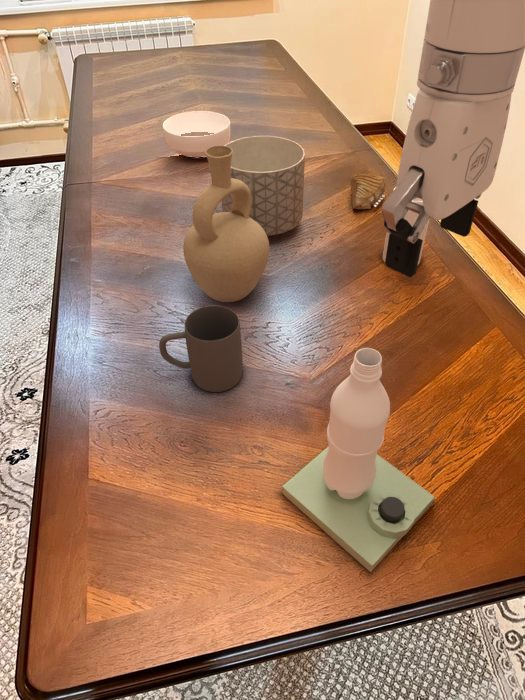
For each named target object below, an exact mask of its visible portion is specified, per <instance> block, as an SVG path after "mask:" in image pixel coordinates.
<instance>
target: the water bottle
mask: <svg viewBox="0 0 525 700" xmlns="http://www.w3.org/2000/svg"><path fill="white" fill-rule="evenodd" d="M382 362H383V356H382V354H381V352H380V351H378V350H377V349H374V348H373V347H372V348H371V347H362V348H359V349H358V350H356V352H355V353H354V356H353V362H352V363H351V365H350V368H349V372H350V374H349V375H348V377H346V378H345V379H344V380H342V381H341V383H339V385H337V387H336V388H335V389H334V390H333V393H332V395H331V398H330V400H329V401H330V402H329V409H330V411H329V419H328V424H327V427H326V439H327V444H328V446H329V449H328V452H327V454H326V456H325V458H324V462H323V476H324V480H325V483H326V485H327V487H328V488H329V489H330V490H331V491H334V490H336V491H337V492H338V494H339V496H340V497H342V498H344V499H355V498H357V497H359V496H360V495H362V494H363V492H366V491H368V490H369V489H370V488H371V486H372V484H373V482H374V479H375V475H376V463H375V458H376V454H378V452H379V450H380V448H381V446H382V445H383V444H384V441H385V431H386V427H387V423H388V419H389V417H390V414H391V402H390V397H389V395H388V392H387V390H386V389H385V387H384V385H383V384H382V381H381V377H382V375H383V370H382Z"/></svg>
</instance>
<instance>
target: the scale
mask: <svg viewBox="0 0 525 700" xmlns="http://www.w3.org/2000/svg"><path fill="white" fill-rule="evenodd" d="M328 449H329V445H328V446H327V447H326V448H325V449H323V450H322V451H321V452H320V453H319V454H318V455H316V456H315V457H314V458H313V459H311V461H310V462H309V463H307V464H305V466H304V467H302V468H301V469H300V470H299V471H298V472H297V473H296V474H294V475H293V476H292V477H291V478H290V479H289V480H288V481H287V482H285V483H284V484H283V485H281V494H282V495H283V496H284V497H285V498H286V499H287V500H288V501H290V503H292V504H293V505H294V506H295V507H296V508H297V509H298V510H300V511H301V513H303V514H304V515H306V516H307V517H308V518H309V519H310V520H311V521H312V522H313V523H314V524H315V525H317V526H318V527H319V528H320V529H321V530H322V531H323V532H324V533H325V534H326V535H328V536H329V537H330V538H331V539H332V540H333V541H334V542H336V543H337V544H338V545H339V546H340V547H341V548H342V549H344V551H346V552H347V553H348V554H349V555H351V557H353V559H355V560H356V561H357V562H358V563H359V564H361V566H363V567H364V568H365V569H366V570H367V571H368V572H370V573H372V571H373V570H374V569H375V568H376V567H377V566H378V565H379V564H380V562H381V561H383V559H384V558H385V557H386V556H387V555H388V554H389V553H390V551H392V550H393V548H394V547H396V545H397V544H398V543H399V542H400V540H401V539H402V538H403V537H404V536H406V535H407V534H408V533H409V531H411V529H412V528H413V526H415V524H416V523H417V522H418V521H419V519H420V518H421V517H422V516H423V515H424V514H425V513H426V512H427V510H428V509H429V508H430V507H431V506H432V505H433V503H434V500H435V498H436V496H435V495H433V494H432V493H430V491H427V490H426V489H425V488H424V487H422V486H421V485H420V484H418V483H417V482H416V481H414V480H413V479H412V478H410V477H409V476H407V475H406V474H405V473H404V472H403V471H401V470H399V469H398V468H396V467H395V466H394V465H393V464H391V463H390V462H389V461H387V460H386V459H384V458H383V457H382V456H380V455H379V454H378V453H377V454H376V458H375V463H376V475H375V479H374V482H373V484H372V486H371V488H370V489H369V490H368V491H366V492H363V494H362V495H360V496H359V497H357V498H355V499H344V498H342V497H340V496H339V494H338V492H337V491H336V490H334V491H331V490H330V489H329V488H328V487H327V485H326V483H325V480H324V476H323V462H324V458H325V456H326V454H327V452H328ZM387 497H396V498H398V499H399V500H401V501H402V503H403V504H404V508H405V510H404V513H403V516H402V519H401V520H400V521H398V522H395V523H391V522H388V521H386V520H384V519H383V518H382V516H381V514H380V507H381V503H382V501H383V500H384V499H385V498H387Z"/></svg>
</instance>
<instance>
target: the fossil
mask: <svg viewBox="0 0 525 700" xmlns="http://www.w3.org/2000/svg"><path fill="white" fill-rule="evenodd" d="M349 183H350V184H349V186H350V192H351V193H350V195H351V205H352V209H354V210H370V209H371V208H372V206H373V207H374V208H377V206H378V205H379V204H380V203H381V202H382V200H383V199H384V198H385V197H386V193H385V191H386V189H385V187H386V185H387V181H386V179H385V177H384V176H380V175H376V174H372V173H356V174H354V175H353V176H352V177H351V178H350V182H349Z"/></svg>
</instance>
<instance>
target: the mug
mask: <svg viewBox="0 0 525 700" xmlns="http://www.w3.org/2000/svg"><path fill="white" fill-rule="evenodd" d="M183 327H184V329H183V330H184V331H181V332H180V331H179V332H172V333H167V334H164V335H162V336H161V338H160V339H159V342H158V343H159V344H158V348H159V353H160V355H161V357H162V359H163V360H164V361H166V362H167V363H169V364H171V366H175V367H177V368H181V369H187V370H189V369H190V375H191V377H192V380H193V382H194V384H195V385H196V386H197V387H198V388H200V389H201V390H203V391H206V392H210V393H220V392H225V391H229V390H231V389H233V388H234V387H235V386H237V385H238V384H239V383H240V381H241V379H242V377H243V370H244V369H243V367H244V364H243V362H244V361H243V345H242V330H241V329H242V328H241V322H240V318H239V316H238V314H237V313H236V312H235V311H234V310H232V309H231V308H229V307H227V306H223V305H215V304H213V305H212V304H211V305H205V306H202V307H199V308H196V309H194V310H193V311H192V312H190V313H189V314H188V315H187V317H186V318H185V321H184V326H183ZM182 339H185V344H186V352H187V356H188V357H187V358H188V361H183V360H180V359H177V358H175V357H174V356H172V355H170V354H169V353H168V350H167V343H168V342H169V341H173V340H182Z"/></svg>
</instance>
